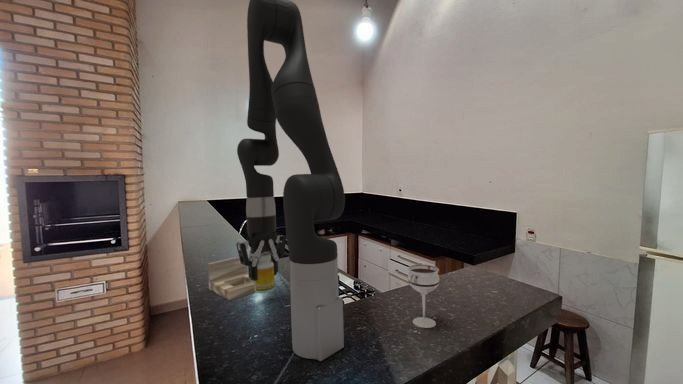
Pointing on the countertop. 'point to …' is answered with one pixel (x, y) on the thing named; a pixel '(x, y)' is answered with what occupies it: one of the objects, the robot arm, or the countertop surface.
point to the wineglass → (423, 288)
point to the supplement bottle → (264, 274)
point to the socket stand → (229, 278)
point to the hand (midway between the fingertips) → (264, 277)
